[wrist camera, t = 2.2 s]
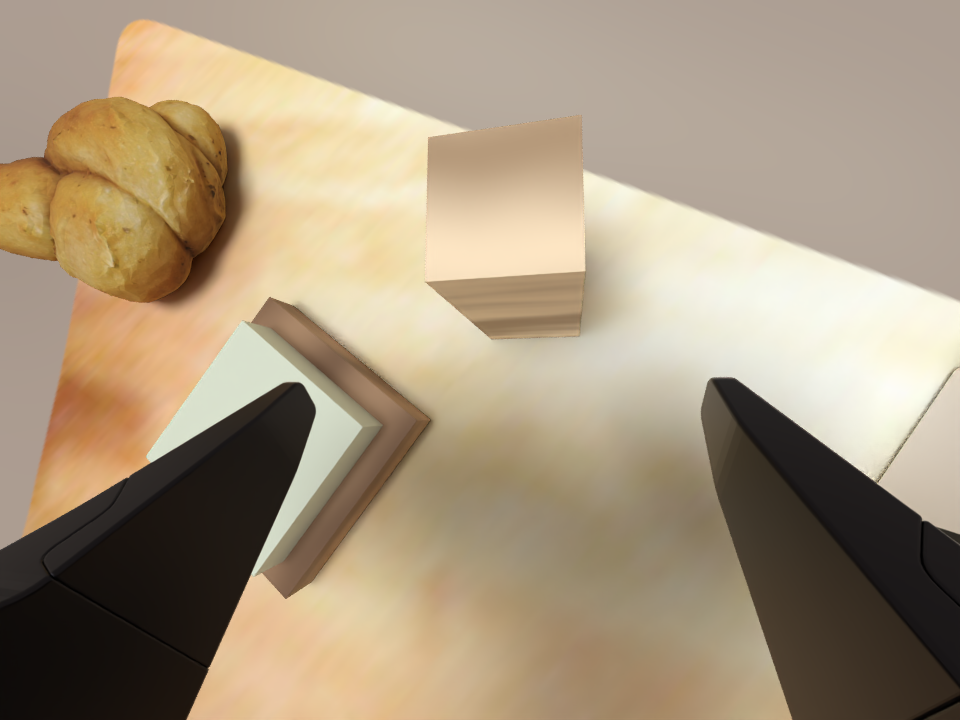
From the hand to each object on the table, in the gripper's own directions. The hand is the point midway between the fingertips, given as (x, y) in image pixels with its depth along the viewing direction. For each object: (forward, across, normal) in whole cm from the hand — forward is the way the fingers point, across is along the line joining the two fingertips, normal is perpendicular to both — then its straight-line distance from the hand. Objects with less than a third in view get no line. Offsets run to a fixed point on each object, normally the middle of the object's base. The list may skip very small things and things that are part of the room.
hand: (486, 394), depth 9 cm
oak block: (+12, 0, +4) cm, 13 cm away
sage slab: (+6, +13, +8) cm, 17 cm away
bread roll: (+17, +23, 0) cm, 29 cm away
